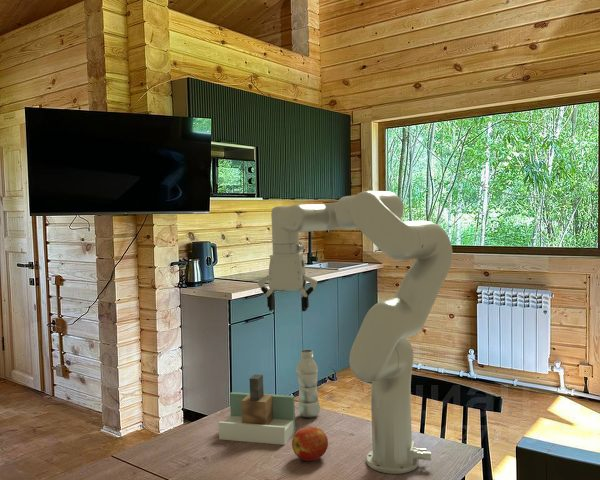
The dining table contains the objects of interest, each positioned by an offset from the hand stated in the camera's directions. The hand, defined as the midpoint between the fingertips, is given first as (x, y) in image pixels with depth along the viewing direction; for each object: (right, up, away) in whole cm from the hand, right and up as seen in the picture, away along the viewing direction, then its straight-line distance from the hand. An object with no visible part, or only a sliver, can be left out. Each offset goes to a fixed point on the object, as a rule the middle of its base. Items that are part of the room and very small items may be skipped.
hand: (288, 310), depth 154 cm
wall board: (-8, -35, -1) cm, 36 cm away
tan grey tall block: (-8, -31, -2) cm, 32 cm away
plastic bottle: (+6, -34, +12) cm, 36 cm away
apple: (+6, -35, -18) cm, 40 cm away
